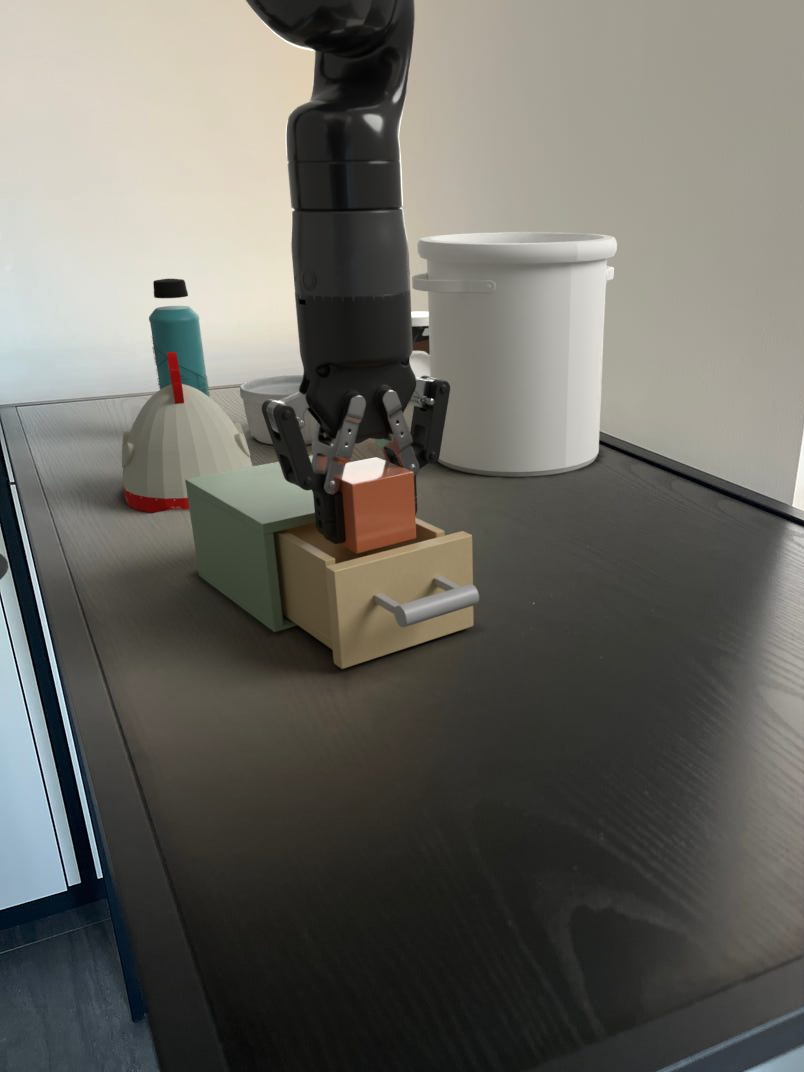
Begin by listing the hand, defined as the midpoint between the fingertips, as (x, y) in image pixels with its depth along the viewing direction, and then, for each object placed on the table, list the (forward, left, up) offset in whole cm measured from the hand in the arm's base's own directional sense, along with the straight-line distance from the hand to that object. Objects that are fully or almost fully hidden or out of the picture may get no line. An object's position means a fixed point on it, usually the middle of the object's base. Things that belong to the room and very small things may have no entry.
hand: (368, 531), depth 71 cm
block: (0, 0, 0) cm, 0 cm away
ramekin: (+24, +60, -8) cm, 65 cm away
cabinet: (0, +12, -8) cm, 14 cm away
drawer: (0, -1, -7) cm, 7 cm away
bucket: (+40, +33, -8) cm, 52 cm away
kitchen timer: (+3, +44, -8) cm, 44 cm away
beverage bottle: (+13, +69, -8) cm, 70 cm away
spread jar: (+53, +73, -8) cm, 90 cm away
